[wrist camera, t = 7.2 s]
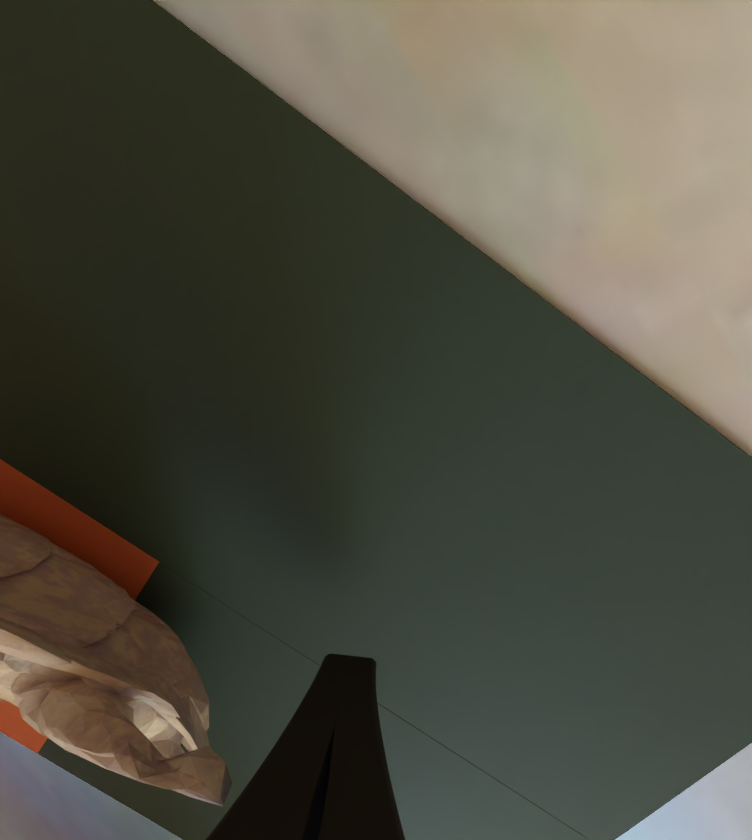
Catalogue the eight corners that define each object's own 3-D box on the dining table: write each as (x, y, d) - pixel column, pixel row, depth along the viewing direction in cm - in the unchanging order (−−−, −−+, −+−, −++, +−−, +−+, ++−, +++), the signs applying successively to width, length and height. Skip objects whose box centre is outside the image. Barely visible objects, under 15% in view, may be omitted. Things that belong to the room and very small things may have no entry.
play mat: (419, 970, 16) (419, 978, 16) (-238, 582, 14) (-247, 586, 14) (936, 599, 10) (945, 605, 10) (-37, -142, 8) (-48, -153, 8)
